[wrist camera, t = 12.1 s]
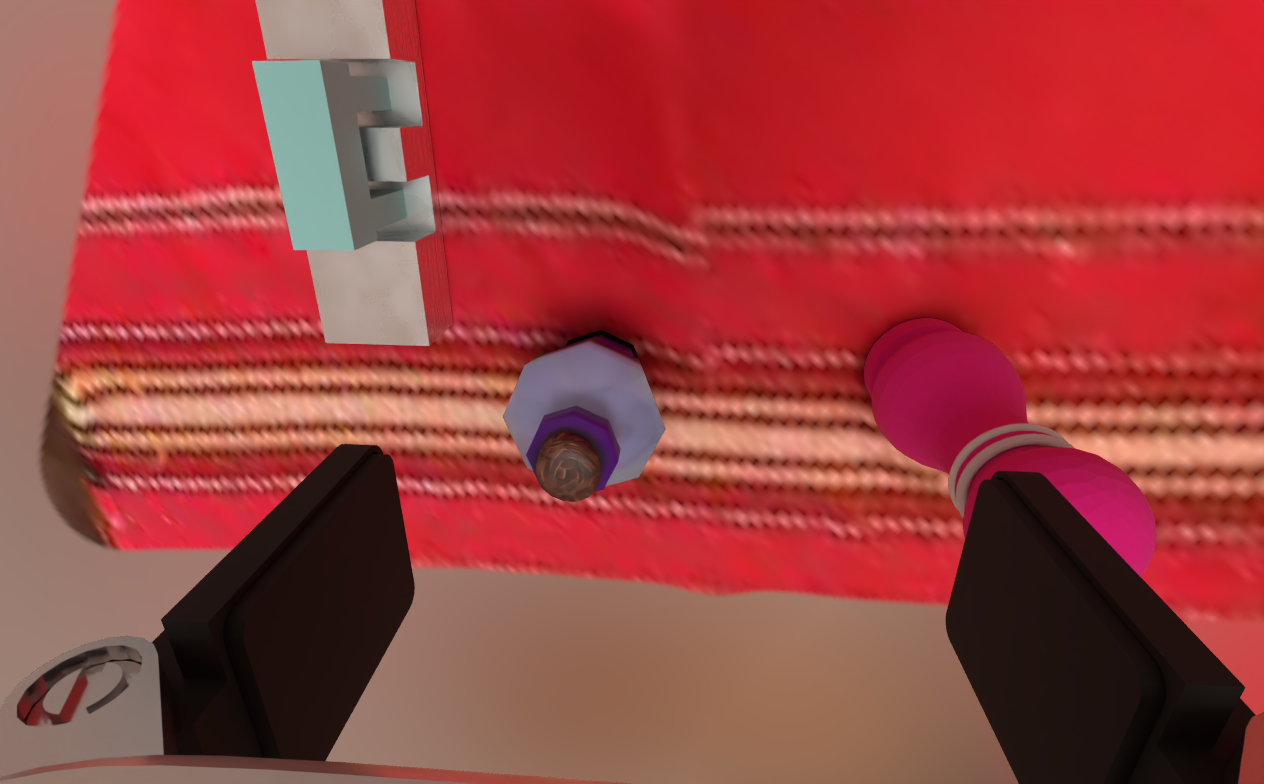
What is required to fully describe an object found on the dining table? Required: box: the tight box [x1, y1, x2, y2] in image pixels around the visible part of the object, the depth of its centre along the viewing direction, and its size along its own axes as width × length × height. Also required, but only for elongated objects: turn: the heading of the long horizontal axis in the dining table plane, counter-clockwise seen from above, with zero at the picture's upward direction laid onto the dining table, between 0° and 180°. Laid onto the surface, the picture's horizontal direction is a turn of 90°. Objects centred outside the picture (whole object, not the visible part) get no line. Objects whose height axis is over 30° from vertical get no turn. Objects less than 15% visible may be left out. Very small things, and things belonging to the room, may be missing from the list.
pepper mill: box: [864, 318, 1157, 577], centre depth 29 cm, size 7×7×20 cm
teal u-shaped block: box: [252, 60, 407, 250], centre depth 32 cm, size 8×3×6 cm, turn 1°
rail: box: [255, 0, 453, 346], centre depth 34 cm, size 20×6×4 cm, turn 0°
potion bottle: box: [503, 330, 665, 502], centre depth 35 cm, size 9×9×12 cm
